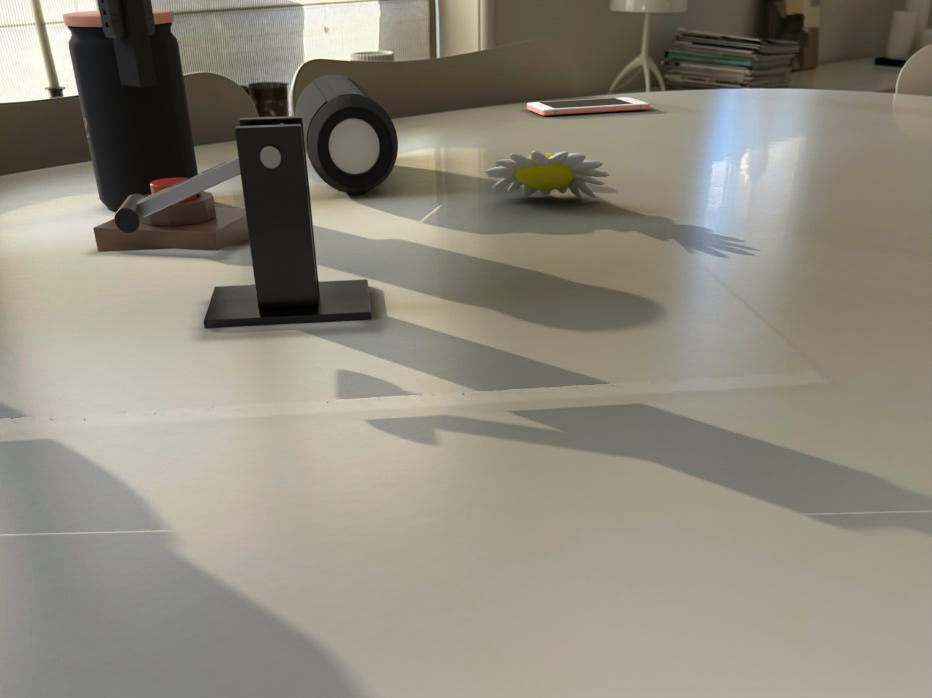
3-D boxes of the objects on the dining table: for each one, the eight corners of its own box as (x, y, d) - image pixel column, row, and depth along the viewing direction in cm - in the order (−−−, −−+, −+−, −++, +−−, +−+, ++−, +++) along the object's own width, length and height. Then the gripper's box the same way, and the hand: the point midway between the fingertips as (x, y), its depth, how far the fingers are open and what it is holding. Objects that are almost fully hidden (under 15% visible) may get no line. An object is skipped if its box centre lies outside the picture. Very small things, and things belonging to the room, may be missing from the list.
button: (145, 205, 97) (141, 185, 96) (165, 196, 100) (162, 176, 99) (185, 207, 96) (182, 186, 95) (204, 198, 100) (201, 178, 99)
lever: (125, 242, 74) (106, 208, 73) (136, 226, 78) (118, 194, 77) (297, 165, 73) (281, 129, 71) (299, 153, 77) (284, 119, 75)
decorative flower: (478, 186, 131) (484, 202, 104) (479, 143, 129) (486, 148, 102) (580, 190, 132) (612, 207, 105) (583, 147, 130) (617, 153, 103)
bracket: (205, 337, 76) (173, 134, 69) (216, 301, 84) (188, 115, 76) (372, 328, 77) (357, 128, 70) (368, 294, 85) (355, 110, 77)
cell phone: (650, 109, 169) (650, 103, 168) (543, 116, 165) (543, 109, 164) (628, 103, 176) (628, 96, 176) (525, 109, 172) (525, 102, 172)
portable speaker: (403, 196, 117) (398, 94, 111) (313, 201, 115) (303, 99, 109) (374, 157, 137) (368, 70, 132) (297, 161, 136) (288, 73, 130)
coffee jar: (146, 192, 121) (114, 8, 111) (222, 199, 117) (195, 9, 107) (79, 211, 113) (37, 15, 103) (157, 219, 109) (122, 16, 99)
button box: (97, 252, 98) (88, 206, 95) (149, 227, 106) (142, 184, 103) (218, 258, 95) (211, 211, 93) (261, 232, 103) (256, 188, 101)
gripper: (8, -335, 65) (92, 97, 78) (185, -307, 73) (234, 80, 86) (-51, -317, 69) (38, 90, 82) (123, -292, 77) (179, 74, 90)
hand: (139, 84), depth 84 cm, fingers closed
